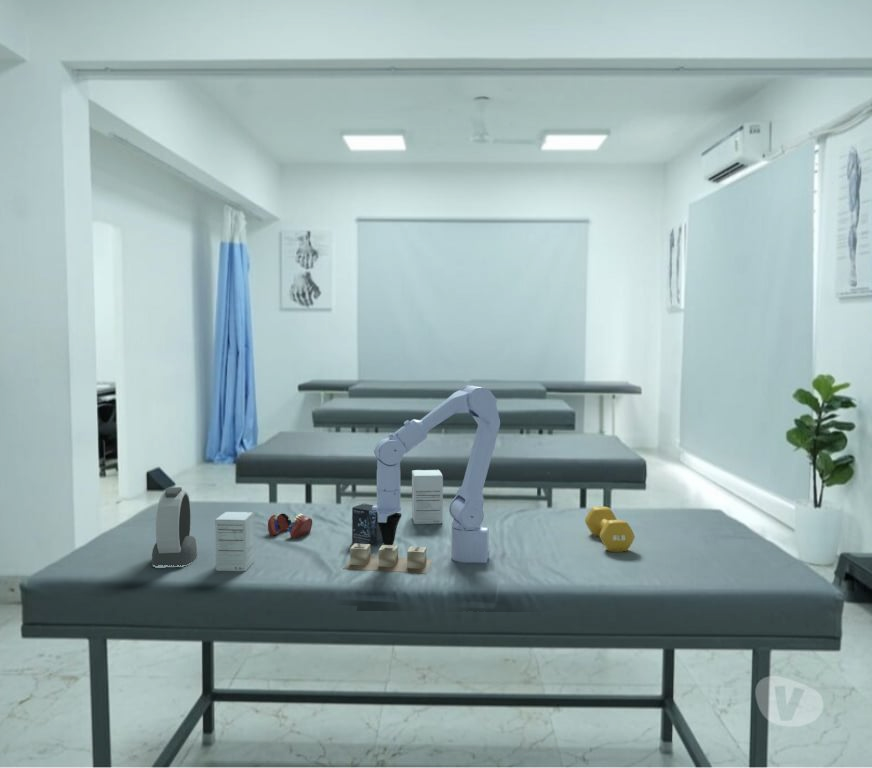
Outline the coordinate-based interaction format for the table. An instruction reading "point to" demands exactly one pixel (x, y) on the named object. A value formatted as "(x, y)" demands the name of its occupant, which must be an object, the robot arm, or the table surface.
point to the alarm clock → (174, 530)
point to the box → (365, 526)
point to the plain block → (388, 555)
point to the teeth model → (289, 525)
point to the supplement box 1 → (234, 541)
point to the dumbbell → (609, 529)
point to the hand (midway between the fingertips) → (388, 544)
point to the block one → (416, 557)
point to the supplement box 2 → (427, 497)
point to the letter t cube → (360, 554)
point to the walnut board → (399, 567)
